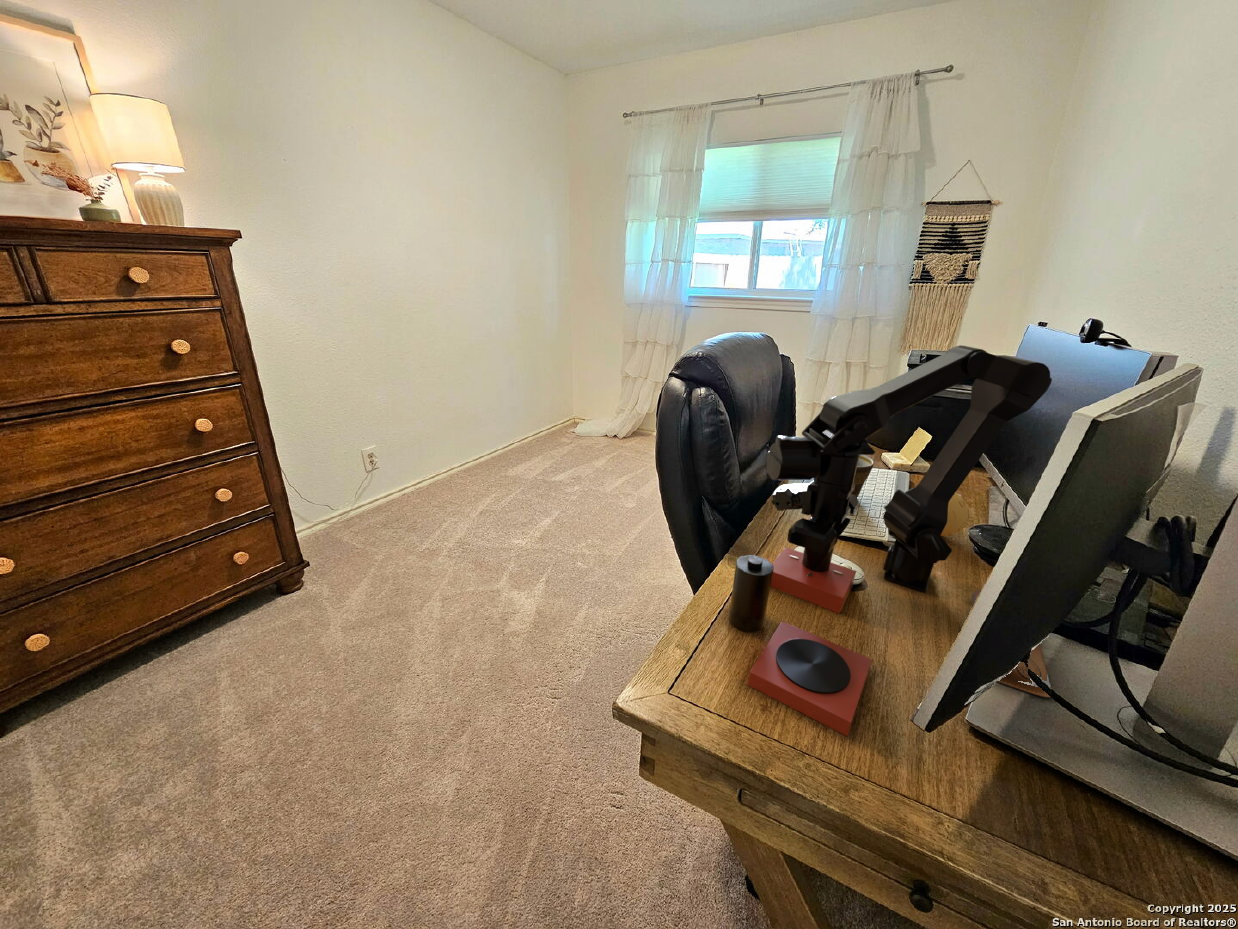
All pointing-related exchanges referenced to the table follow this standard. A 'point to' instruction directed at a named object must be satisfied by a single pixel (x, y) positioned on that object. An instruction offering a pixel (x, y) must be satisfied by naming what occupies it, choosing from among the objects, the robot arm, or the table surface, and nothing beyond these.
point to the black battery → (750, 593)
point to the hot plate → (811, 676)
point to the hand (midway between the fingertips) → (816, 562)
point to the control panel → (812, 581)
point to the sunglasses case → (1025, 670)
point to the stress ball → (956, 515)
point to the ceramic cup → (862, 473)
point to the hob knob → (823, 565)
